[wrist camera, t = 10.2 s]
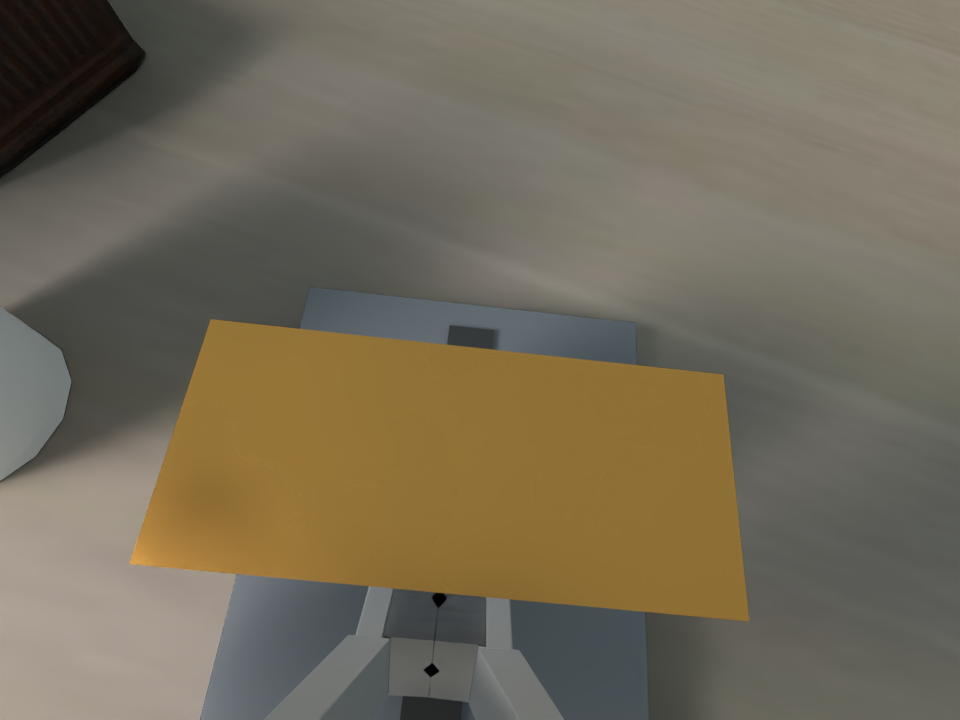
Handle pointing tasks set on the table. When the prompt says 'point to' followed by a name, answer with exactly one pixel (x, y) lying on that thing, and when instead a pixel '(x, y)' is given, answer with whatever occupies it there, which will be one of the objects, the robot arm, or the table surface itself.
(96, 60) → the manual coffee grinder
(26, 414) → the foam cup
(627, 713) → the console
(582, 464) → the plate
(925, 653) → the table surface
